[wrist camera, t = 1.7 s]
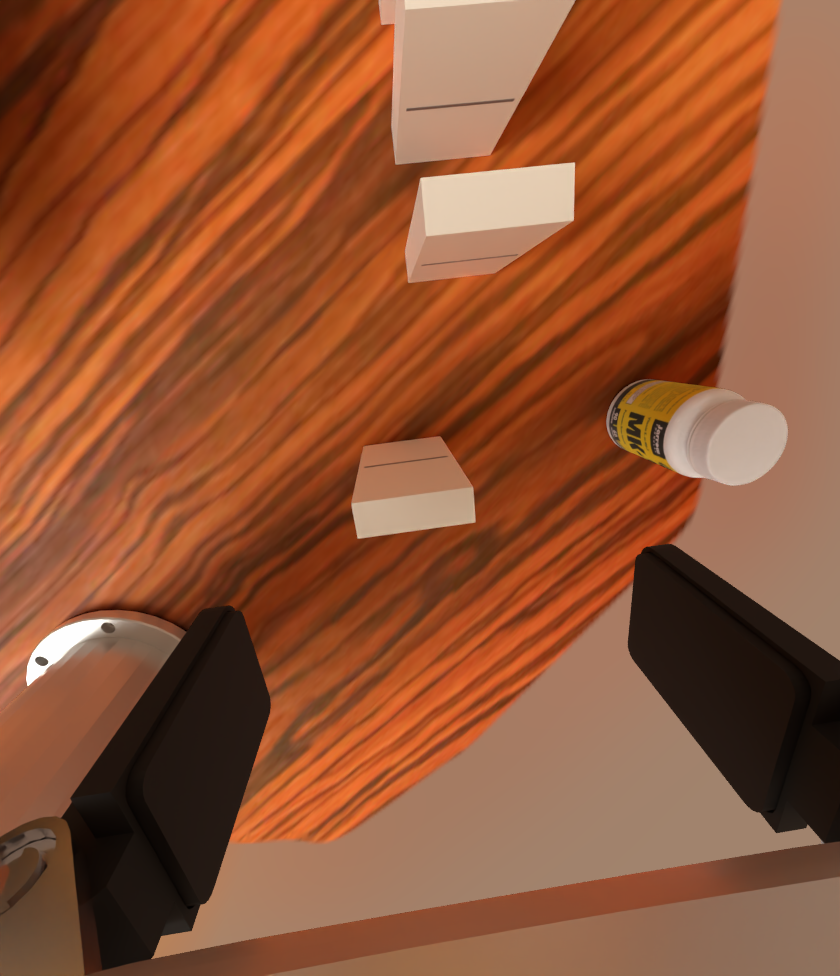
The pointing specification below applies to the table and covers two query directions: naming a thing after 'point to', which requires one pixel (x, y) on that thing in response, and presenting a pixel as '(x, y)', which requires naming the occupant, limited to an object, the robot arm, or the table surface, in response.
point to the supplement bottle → (698, 430)
